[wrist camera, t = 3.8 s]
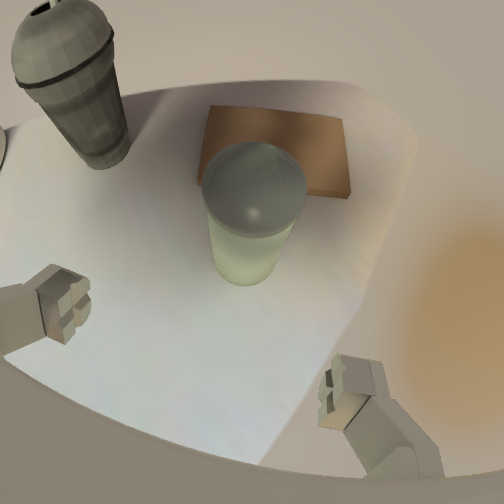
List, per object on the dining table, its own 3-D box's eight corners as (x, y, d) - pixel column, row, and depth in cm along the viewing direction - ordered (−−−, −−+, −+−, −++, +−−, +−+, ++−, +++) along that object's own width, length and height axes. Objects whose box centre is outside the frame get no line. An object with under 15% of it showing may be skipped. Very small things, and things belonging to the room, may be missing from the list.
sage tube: (209, 284, 22) (195, 226, 13) (215, 223, 24) (208, 138, 14) (275, 288, 23) (308, 235, 13) (277, 228, 24) (305, 146, 15)
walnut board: (198, 185, 25) (197, 178, 24) (211, 112, 27) (210, 105, 26) (346, 198, 25) (350, 192, 24) (338, 126, 28) (341, 119, 27)
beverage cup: (83, 122, 27) (13, -49, 8) (151, 116, 27) (110, -85, 8) (62, 185, 24) (-55, 4, 5) (136, 182, 25) (50, -53, 6)
